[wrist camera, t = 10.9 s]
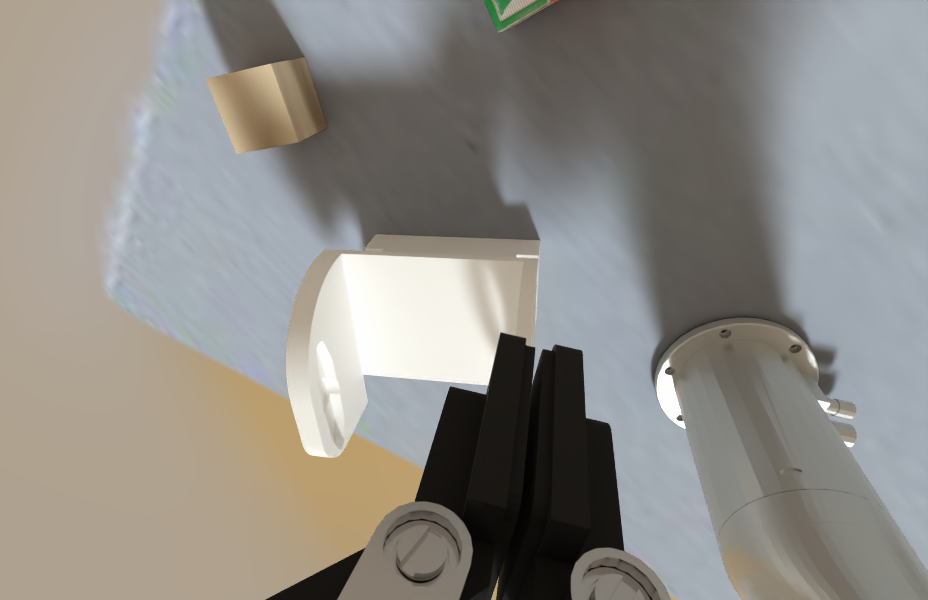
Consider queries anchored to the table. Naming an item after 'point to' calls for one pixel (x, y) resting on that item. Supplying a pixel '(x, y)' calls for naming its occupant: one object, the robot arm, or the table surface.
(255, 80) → the beech block
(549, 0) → the stack of blocks
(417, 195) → the table surface
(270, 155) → the table surface
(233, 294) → the table surface
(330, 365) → the white plastic bracket
